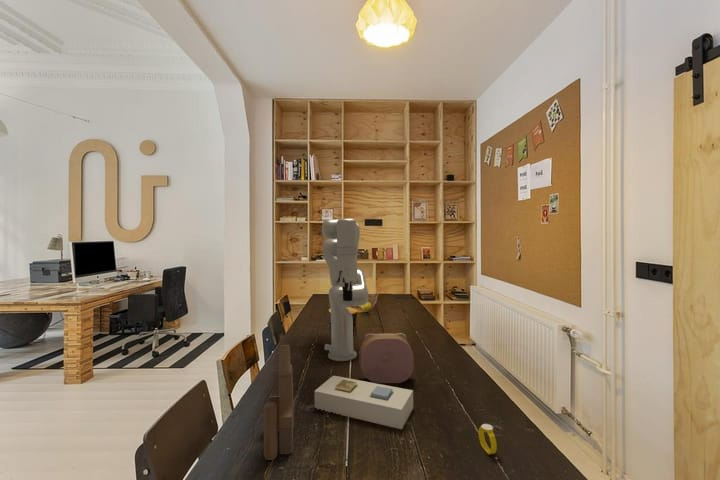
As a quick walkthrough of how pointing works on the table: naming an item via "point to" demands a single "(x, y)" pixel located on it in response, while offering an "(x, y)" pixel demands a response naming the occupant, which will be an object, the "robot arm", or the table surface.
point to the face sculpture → (386, 358)
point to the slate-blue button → (381, 393)
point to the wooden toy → (280, 411)
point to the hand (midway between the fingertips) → (347, 300)
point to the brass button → (346, 386)
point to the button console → (365, 402)
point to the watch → (489, 430)
